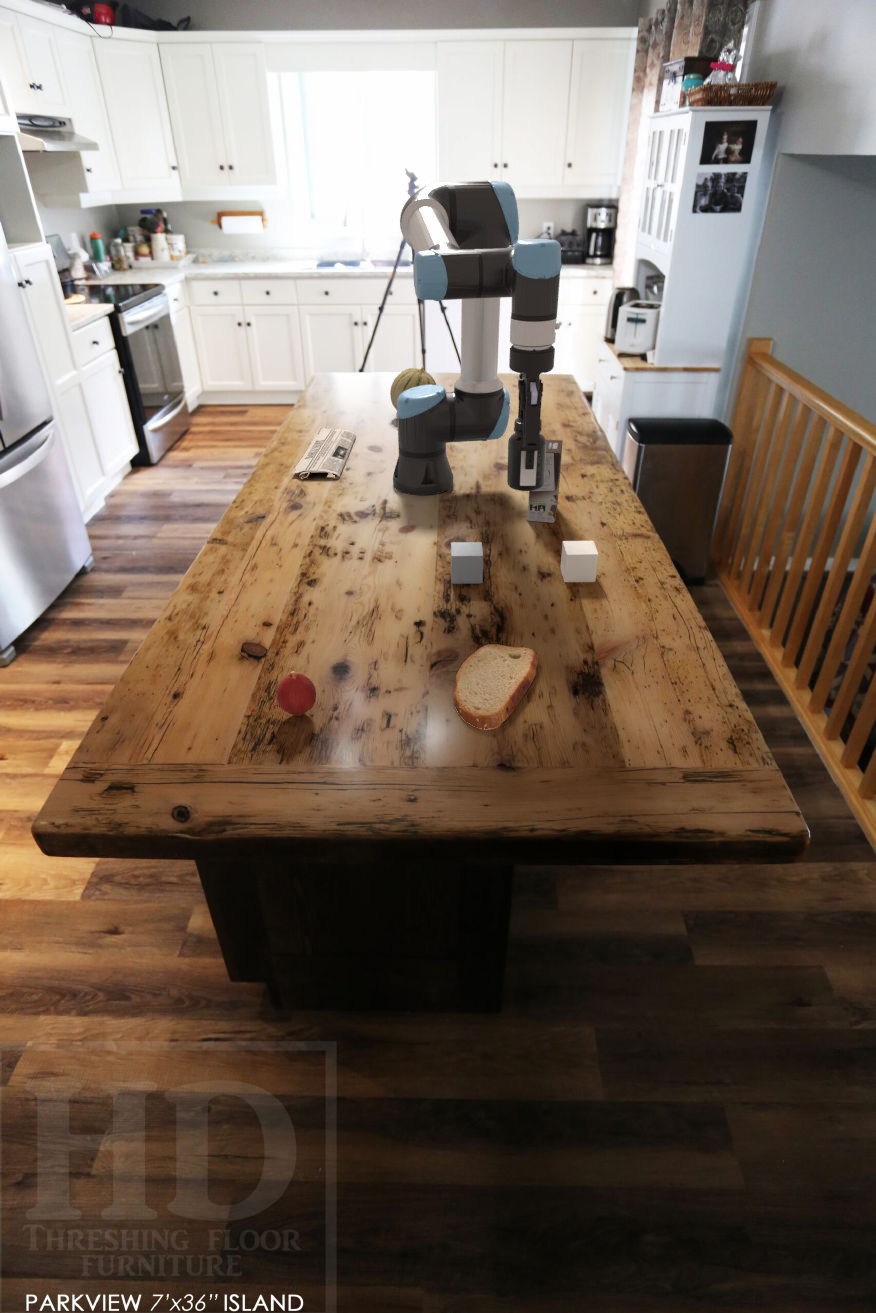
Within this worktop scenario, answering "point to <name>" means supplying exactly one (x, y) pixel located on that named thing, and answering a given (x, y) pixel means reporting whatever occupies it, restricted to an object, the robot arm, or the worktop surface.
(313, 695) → the onion
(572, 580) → the off-white block
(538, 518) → the coffee box
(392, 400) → the cantaloupe
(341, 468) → the newspaper
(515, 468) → the supplement bottle
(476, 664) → the bread slice
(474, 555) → the slate-grey block
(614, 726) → the worktop surface
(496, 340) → the robot arm
